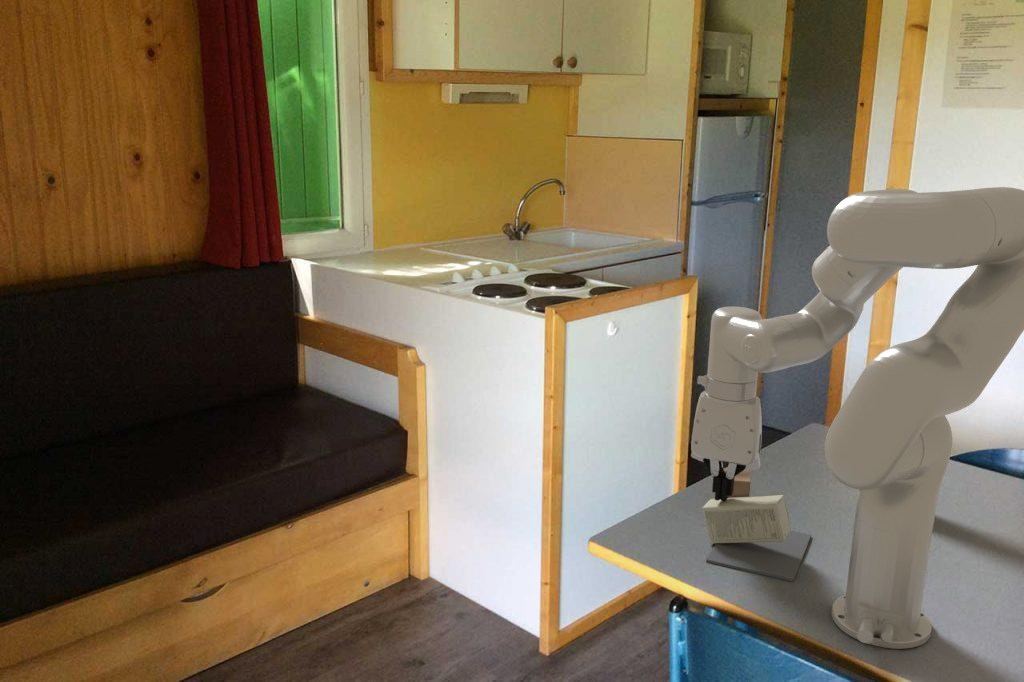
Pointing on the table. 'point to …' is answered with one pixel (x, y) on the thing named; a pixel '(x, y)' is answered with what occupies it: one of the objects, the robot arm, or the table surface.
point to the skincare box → (747, 519)
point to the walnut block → (741, 484)
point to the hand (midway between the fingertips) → (722, 497)
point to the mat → (763, 556)
